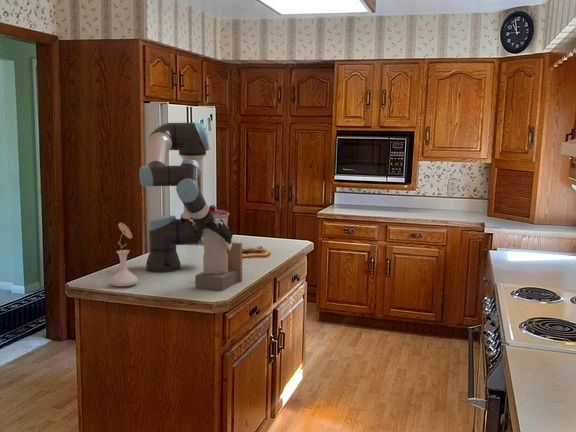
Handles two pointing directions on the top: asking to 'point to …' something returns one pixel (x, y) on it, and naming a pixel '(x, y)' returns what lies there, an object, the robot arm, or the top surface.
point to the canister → (219, 214)
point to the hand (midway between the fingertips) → (219, 246)
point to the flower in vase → (123, 263)
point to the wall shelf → (224, 279)
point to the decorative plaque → (254, 251)
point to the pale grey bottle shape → (214, 252)
